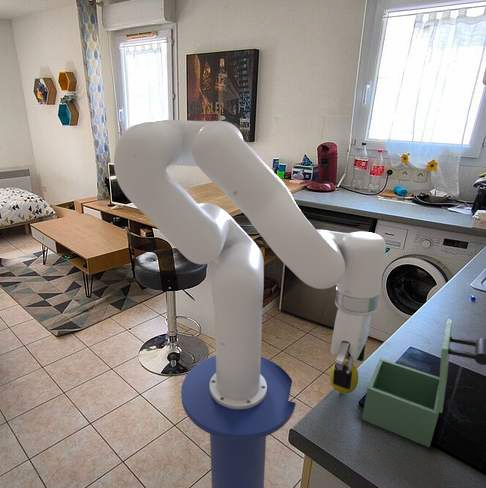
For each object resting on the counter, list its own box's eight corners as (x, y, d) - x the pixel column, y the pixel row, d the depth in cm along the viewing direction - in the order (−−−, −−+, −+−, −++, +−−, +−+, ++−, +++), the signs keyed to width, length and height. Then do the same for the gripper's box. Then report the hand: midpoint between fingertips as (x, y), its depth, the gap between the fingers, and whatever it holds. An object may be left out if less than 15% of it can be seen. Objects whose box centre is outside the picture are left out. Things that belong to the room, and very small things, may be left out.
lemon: (356, 404, 73) (361, 372, 70) (327, 398, 75) (331, 367, 72) (355, 386, 78) (360, 355, 75) (328, 380, 80) (332, 350, 77)
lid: (441, 348, 57) (492, 358, 53) (447, 318, 65) (491, 325, 61) (436, 411, 61) (483, 424, 57) (442, 376, 69) (483, 385, 65)
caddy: (361, 419, 70) (367, 388, 67) (374, 387, 78) (379, 357, 75) (429, 447, 64) (438, 414, 61) (435, 409, 72) (444, 378, 69)
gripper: (349, 276, 76) (342, 344, 83) (321, 313, 63) (315, 390, 70) (388, 284, 72) (377, 354, 79) (366, 325, 59) (356, 406, 66)
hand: (348, 371), depth 74 cm, fingers open, 9 cm apart
